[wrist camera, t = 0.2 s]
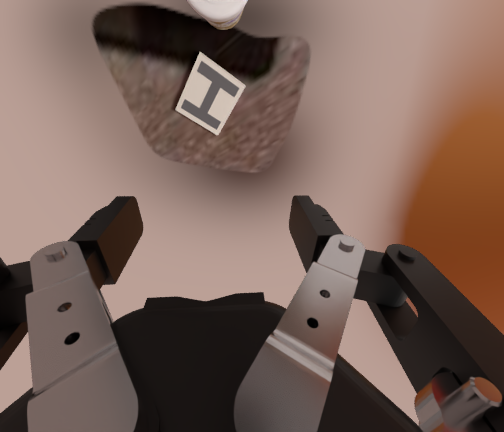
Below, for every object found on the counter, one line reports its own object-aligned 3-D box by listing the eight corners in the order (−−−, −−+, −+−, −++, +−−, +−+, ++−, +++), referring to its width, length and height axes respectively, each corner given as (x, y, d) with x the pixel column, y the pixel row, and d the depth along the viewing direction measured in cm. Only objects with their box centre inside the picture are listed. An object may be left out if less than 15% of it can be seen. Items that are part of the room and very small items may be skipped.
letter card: (200, 51, 25) (199, 51, 25) (245, 85, 27) (245, 86, 27) (176, 108, 28) (175, 109, 28) (218, 134, 31) (217, 135, 30)
